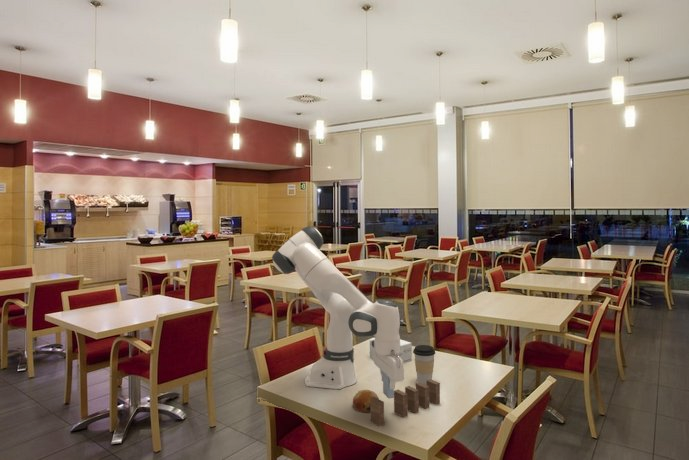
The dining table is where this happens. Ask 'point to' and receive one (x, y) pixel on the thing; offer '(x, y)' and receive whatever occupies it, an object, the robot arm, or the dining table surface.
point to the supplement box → (401, 351)
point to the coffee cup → (424, 362)
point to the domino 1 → (377, 411)
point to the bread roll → (363, 400)
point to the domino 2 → (387, 387)
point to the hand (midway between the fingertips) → (388, 385)
